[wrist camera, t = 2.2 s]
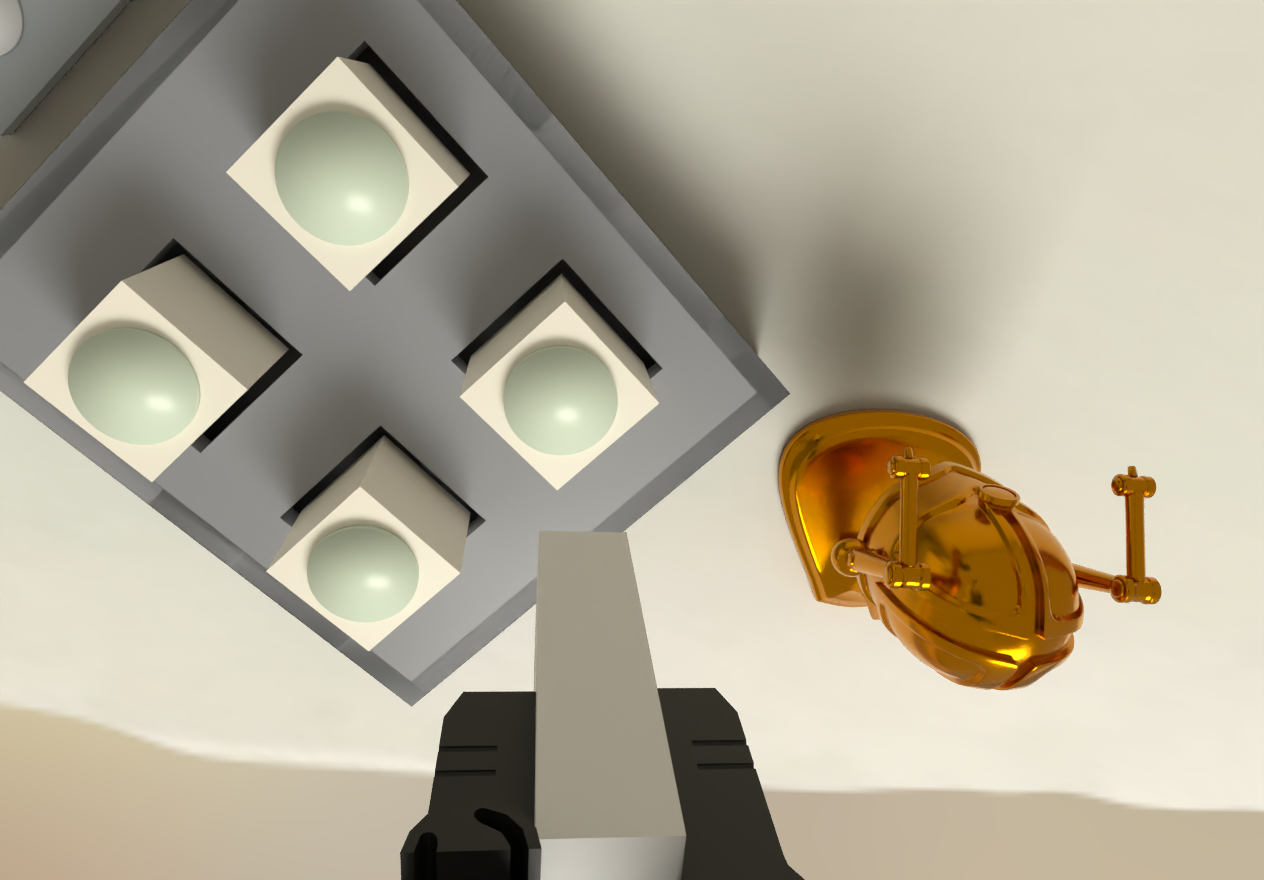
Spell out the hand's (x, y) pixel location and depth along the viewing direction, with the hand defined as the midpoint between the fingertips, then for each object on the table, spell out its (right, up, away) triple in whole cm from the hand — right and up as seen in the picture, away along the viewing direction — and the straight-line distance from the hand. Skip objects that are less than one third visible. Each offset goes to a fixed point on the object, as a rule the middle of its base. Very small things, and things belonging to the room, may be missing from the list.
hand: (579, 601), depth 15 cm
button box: (-8, +7, +16) cm, 19 cm away
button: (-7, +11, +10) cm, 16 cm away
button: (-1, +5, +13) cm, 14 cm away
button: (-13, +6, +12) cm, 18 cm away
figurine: (+11, +1, +21) cm, 23 cm away
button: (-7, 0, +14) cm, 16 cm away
